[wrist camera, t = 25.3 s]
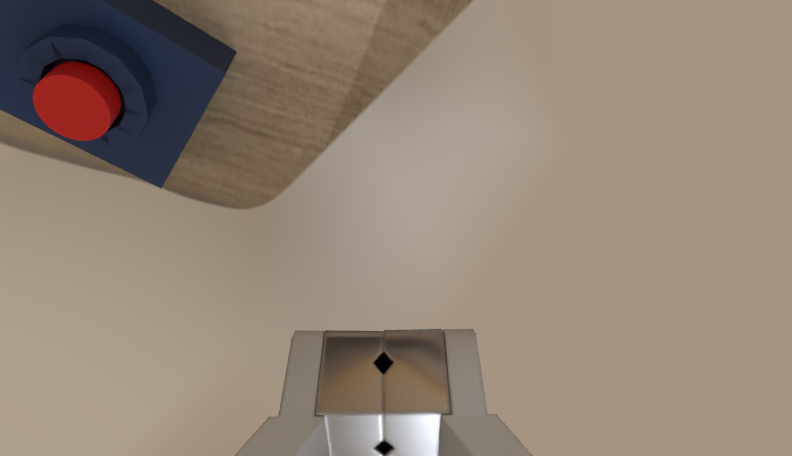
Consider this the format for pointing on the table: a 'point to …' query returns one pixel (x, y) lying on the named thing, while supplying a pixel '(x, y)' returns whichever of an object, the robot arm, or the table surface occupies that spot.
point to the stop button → (77, 101)
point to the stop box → (116, 72)
